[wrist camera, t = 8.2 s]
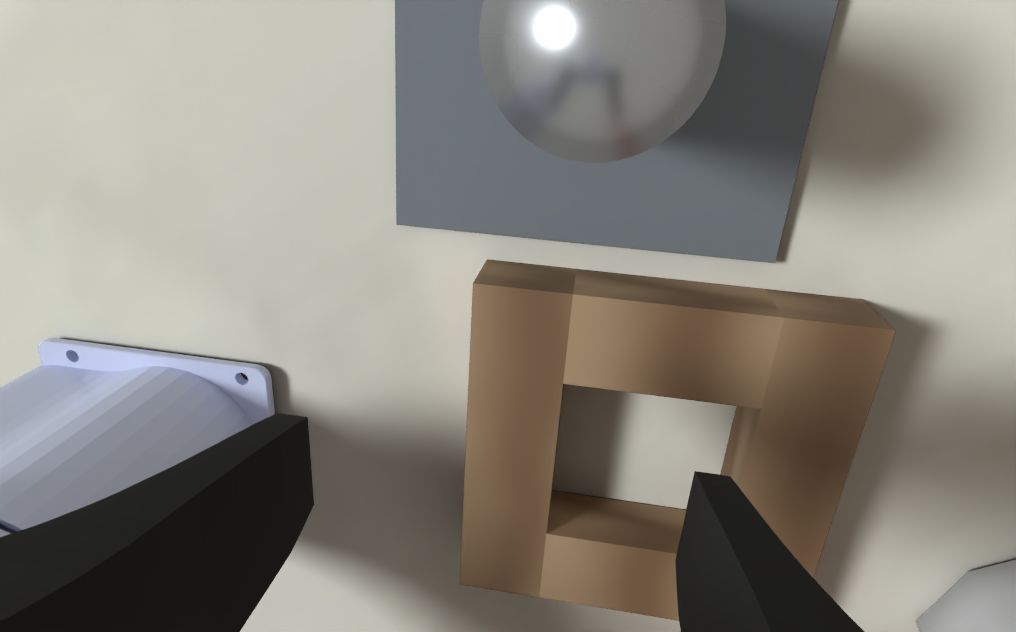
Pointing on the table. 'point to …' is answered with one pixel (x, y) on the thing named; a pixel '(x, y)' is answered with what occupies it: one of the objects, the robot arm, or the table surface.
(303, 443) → the robot arm
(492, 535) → the pocket block
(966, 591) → the flask
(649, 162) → the slate mat
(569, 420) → the table surface
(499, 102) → the peg
